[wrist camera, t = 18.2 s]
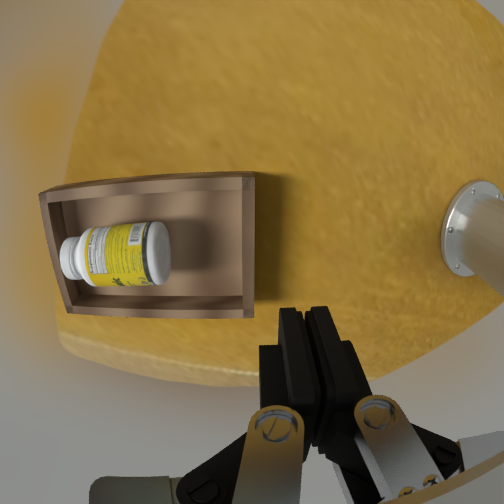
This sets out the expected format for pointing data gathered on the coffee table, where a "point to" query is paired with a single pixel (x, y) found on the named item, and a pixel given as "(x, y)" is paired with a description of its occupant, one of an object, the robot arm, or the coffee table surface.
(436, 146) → the coffee table surface
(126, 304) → the tray
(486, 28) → the coffee table surface
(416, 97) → the coffee table surface
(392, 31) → the coffee table surface
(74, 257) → the supplement bottle
